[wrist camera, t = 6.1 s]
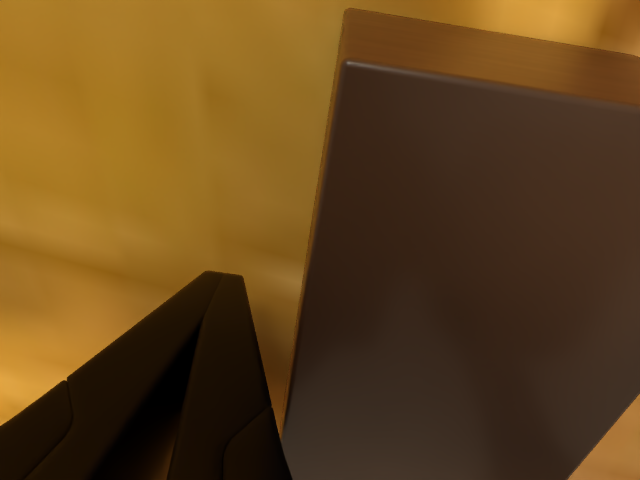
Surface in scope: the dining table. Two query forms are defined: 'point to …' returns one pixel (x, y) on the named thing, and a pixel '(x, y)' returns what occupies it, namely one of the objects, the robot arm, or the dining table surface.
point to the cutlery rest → (467, 258)
